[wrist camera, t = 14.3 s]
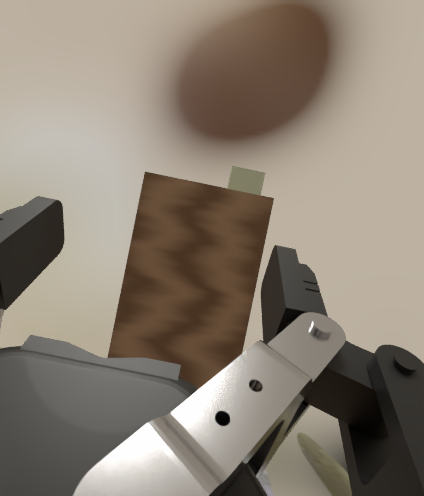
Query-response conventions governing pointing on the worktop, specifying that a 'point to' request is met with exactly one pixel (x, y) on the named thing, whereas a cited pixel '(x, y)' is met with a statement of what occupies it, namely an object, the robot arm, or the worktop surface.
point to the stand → (190, 275)
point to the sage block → (246, 180)
